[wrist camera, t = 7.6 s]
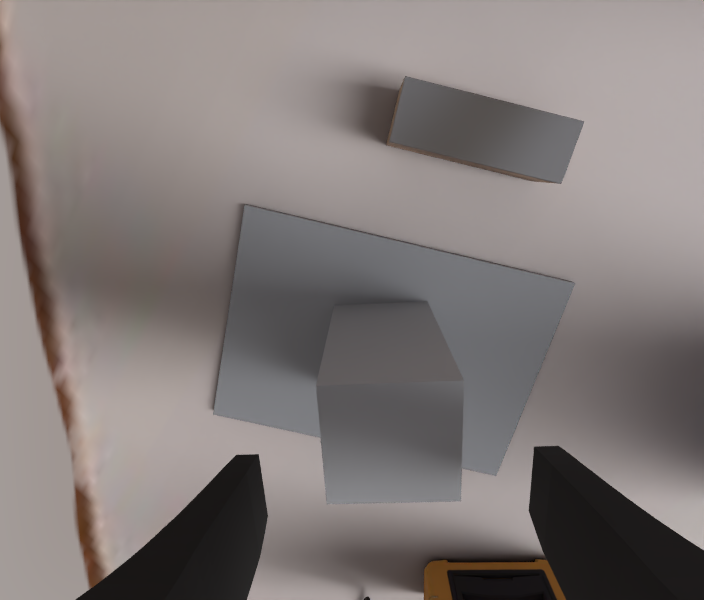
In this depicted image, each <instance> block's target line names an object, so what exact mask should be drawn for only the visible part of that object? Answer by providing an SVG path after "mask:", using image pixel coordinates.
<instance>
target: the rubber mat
mask: <svg viewBox="0 0 704 600" xmlns="http://www.w3.org/2000/svg"><path fill="white" fill-rule="evenodd" d="M574 285H575V283H573V282H571V281H567V280H563V279H558V278H554V277H550V276H546V275H542V274H537V273H533V272H529V271H525V270H521V269H516V268H512V267H508V266H504V265H500V264H495V263H491V262H487V261H483V260H479V259H474V258H470V257H466V256H462V255H458V254H453V253H449V252H445V251H441V250H437V249H432V248H428V247H424V246H420V245H415V244H411V243H407V242H403V241H399V240H394V239H390V238H386V237H382V236H378V235H373V234H369V233H365V232H361V231H357V230H352V229H348V228H344V227H340V226H336V225H331V224H327V223H323V222H319V221H315V220H310V219H306V218H302V217H298V216H294V215H289V214H285V213H281V212H277V211H272V210H268V209H264V208H260V207H256V206H251V205H247V204H246V205H245V206H244V213H243V219H242V226H241V233H240V239H239V246H238V252H237V259H236V266H235V272H234V279H233V286H232V292H231V299H230V306H229V312H228V319H227V326H226V332H225V339H224V346H223V352H222V359H221V366H220V372H219V379H218V385H217V392H216V399H215V405H214V412H213V414H214V415H219V416H223V417H228V418H232V419H237V420H242V421H246V422H251V423H255V424H260V425H265V426H269V427H274V428H278V429H283V430H288V431H292V432H297V433H301V434H306V435H311V436H315V437H320V438H321V436H320V425H319V414H318V403H317V392H316V383H317V379H318V374H319V370H320V366H321V361H322V357H323V353H324V348H325V344H326V339H327V335H328V331H329V326H330V322H331V318H332V313H333V309H334V305H356V304H379V303H402V302H425V301H428V303H429V306H430V308H431V310H432V312H433V314H434V316H435V319H436V321H437V323H438V325H439V327H440V329H441V332H442V334H443V336H444V338H445V340H446V343H447V345H448V347H449V349H450V351H451V353H452V356H453V358H454V360H455V362H456V364H457V366H458V369H459V371H460V373H461V375H462V377H463V379H464V400H463V439H462V469H467V470H471V471H476V472H481V473H485V474H490V475H494V476H496V475H497V473H498V470H499V468H500V465H501V463H502V460H503V458H504V456H505V453H506V451H507V448H508V446H509V443H510V441H511V439H512V436H513V434H514V431H515V429H516V426H517V424H518V421H519V419H520V417H521V414H522V412H523V409H524V407H525V404H526V402H527V400H528V397H529V395H530V392H531V390H532V387H533V385H534V382H535V380H536V378H537V375H538V373H539V370H540V368H541V365H542V363H543V361H544V358H545V356H546V353H547V351H548V348H549V346H550V343H551V341H552V339H553V336H554V334H555V331H556V329H557V326H558V324H559V322H560V319H561V317H562V314H563V312H564V309H565V307H566V304H567V302H568V300H569V297H570V295H571V292H572V290H573V287H574Z"/></svg>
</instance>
